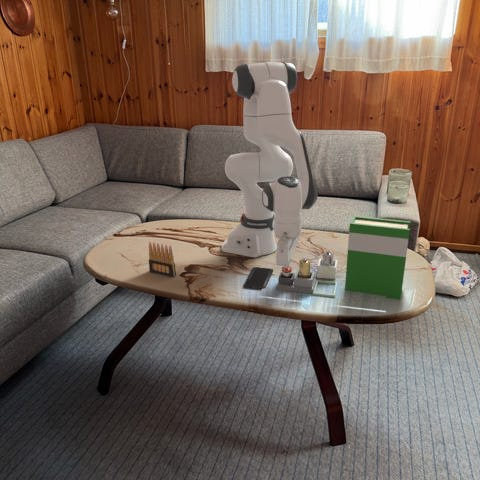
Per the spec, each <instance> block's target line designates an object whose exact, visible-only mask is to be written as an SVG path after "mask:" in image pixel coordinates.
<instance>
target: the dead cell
mask: <svg viewBox="0 0 480 480" xmlns="http://www.w3.org/2000/svg"><path fill="white" fill-rule="evenodd" d="M322 259H323V263H322V266H331V267H333V260H334V252H331V251H324V252H323V253H322Z"/></svg>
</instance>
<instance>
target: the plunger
mask: <svg viewBox="0 0 480 480" xmlns="http://www.w3.org/2000/svg"><path fill="white" fill-rule="evenodd" d="M292 271H293V267H292V266H290V267H289V268H288V269H287V268H284V266H282V267H281V272H282V278H288V279H290V278H291V273H292Z"/></svg>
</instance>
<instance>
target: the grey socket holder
mask: <svg viewBox="0 0 480 480" xmlns="http://www.w3.org/2000/svg"><path fill="white" fill-rule="evenodd" d="M315 276H316V273H315V271H312V270H310V279H308V278H299V269H297V270H296V271H295V273H293V272H291V278H290V279H288V278H282V271H281V272H280V273H279V276H278V280H277V281H278V282H277V285H276V290H277V291H285V292H292V293H302V294H311V295H313V291H314V288H315V284H316V281H317V278H315Z"/></svg>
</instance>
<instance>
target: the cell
mask: <svg viewBox="0 0 480 480" xmlns="http://www.w3.org/2000/svg"><path fill="white" fill-rule="evenodd" d="M298 267H299V269H298V270H299V278H308V279H310V271H311V260H310V259H308V258H301V259H300V260H299V266H298Z"/></svg>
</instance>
